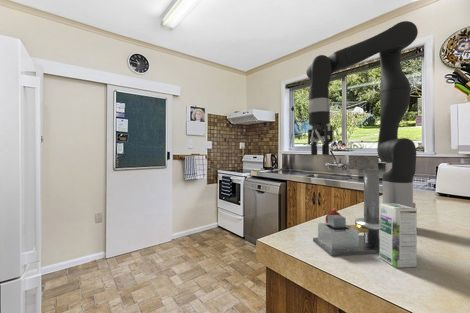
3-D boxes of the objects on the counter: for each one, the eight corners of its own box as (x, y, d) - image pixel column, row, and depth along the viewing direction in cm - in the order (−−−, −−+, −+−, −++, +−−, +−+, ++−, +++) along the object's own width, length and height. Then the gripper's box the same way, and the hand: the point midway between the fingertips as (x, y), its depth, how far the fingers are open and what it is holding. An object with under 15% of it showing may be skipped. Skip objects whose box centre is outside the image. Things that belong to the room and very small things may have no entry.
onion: (345, 233, 79) (344, 210, 79) (327, 232, 80) (327, 210, 80) (340, 228, 84) (340, 207, 84) (324, 227, 85) (324, 206, 85)
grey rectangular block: (339, 240, 70) (338, 214, 70) (345, 245, 66) (345, 217, 66) (327, 241, 69) (327, 215, 69) (334, 245, 66) (333, 218, 66)
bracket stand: (372, 237, 74) (372, 168, 74) (400, 252, 63) (399, 170, 63) (313, 240, 72) (312, 169, 72) (331, 256, 61) (330, 171, 61)
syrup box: (378, 257, 60) (378, 203, 60) (399, 256, 61) (398, 202, 61) (395, 268, 54) (395, 208, 54) (418, 267, 55) (417, 207, 55)
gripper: (339, 108, 78) (340, 154, 79) (319, 115, 93) (319, 155, 93) (318, 108, 77) (319, 155, 78) (301, 115, 92) (302, 155, 92)
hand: (319, 155), depth 85 cm, fingers open, 8 cm apart
